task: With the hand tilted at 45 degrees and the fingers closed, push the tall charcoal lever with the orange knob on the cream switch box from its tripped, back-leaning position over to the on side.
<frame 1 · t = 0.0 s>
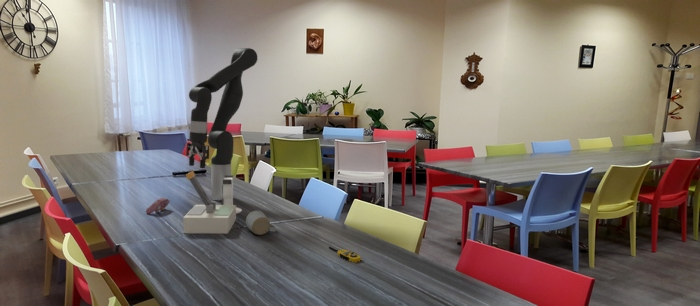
hand: (196, 166, 199), 17 cm above the table, tool pointing down, fingers open, 8 cm apart
yellow walkie-talkie: (342, 256, 145), on the table
ceramic mug: (261, 232, 165), on the table
switch box: (211, 225, 170), on the table
video game controller: (158, 212, 187), on the table
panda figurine: (228, 211, 191), on the table
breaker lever: (200, 191, 167), point 14 cm above the table, hinge at -30.0°
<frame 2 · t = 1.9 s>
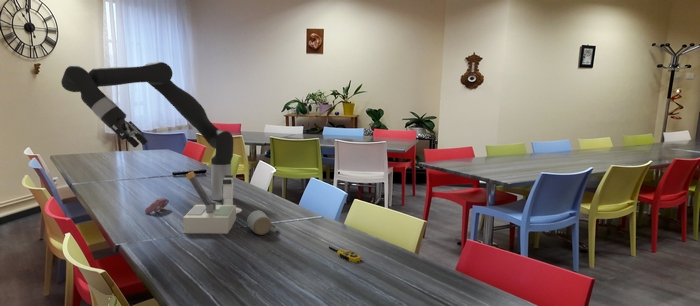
hand: (141, 144, 163), 31 cm above the table, tool tilted 45°, fingers open, 8 cm apart
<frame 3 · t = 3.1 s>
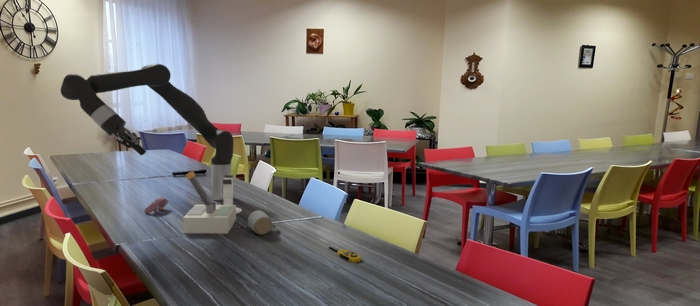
hand: (144, 153, 163), 28 cm above the table, tool tilted 45°, fingers closed
nothing on the table moved.
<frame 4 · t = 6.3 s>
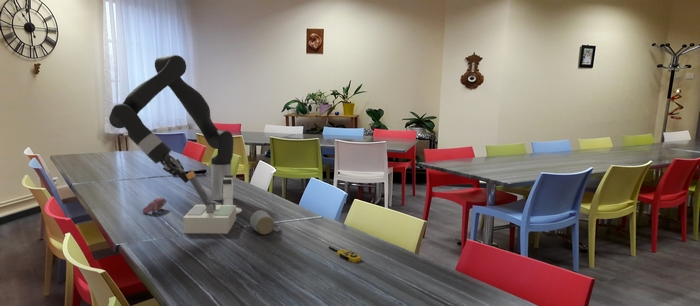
hand: (188, 180, 166), 18 cm above the table, tool tilted 45°, fingers closed
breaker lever: (200, 191, 167), point 14 cm above the table, hinge at -30.0°, touching gripper
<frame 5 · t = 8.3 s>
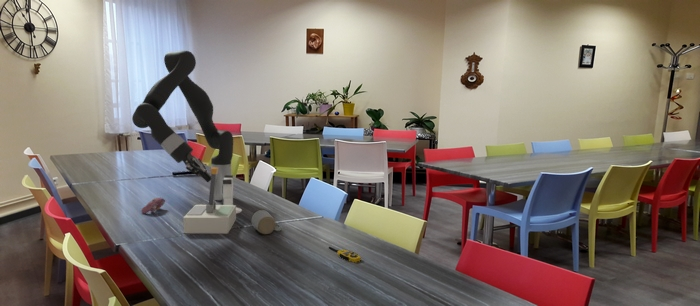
hand: (210, 180, 167), 18 cm above the table, tool tilted 45°, fingers closed
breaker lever: (212, 189, 168), point 15 cm above the table, hinge at 5.6°, touching gripper
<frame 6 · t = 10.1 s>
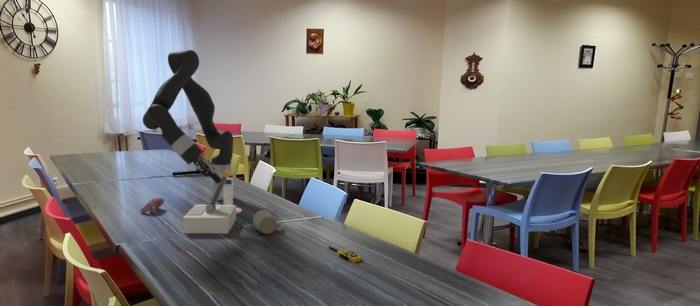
hand: (220, 181, 167), 18 cm above the table, tool tilted 45°, fingers closed
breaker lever: (218, 190, 168), point 14 cm above the table, hinge at 23.2°, touching gripper
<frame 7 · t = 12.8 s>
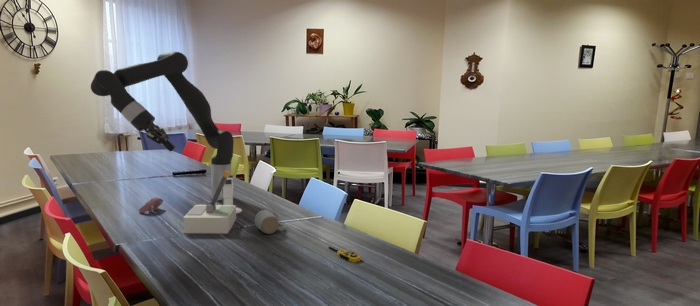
hand: (173, 149, 164), 30 cm above the table, tool tilted 45°, fingers closed
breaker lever: (218, 190, 168), point 14 cm above the table, hinge at 23.3°
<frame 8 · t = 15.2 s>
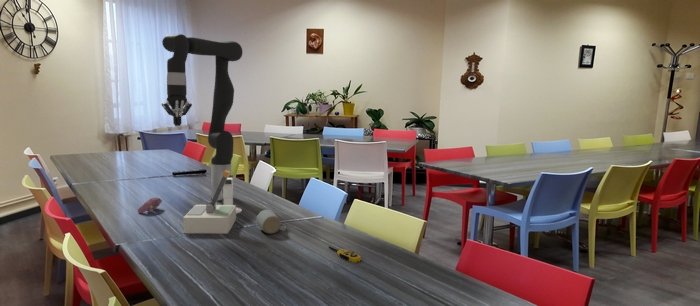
hand: (177, 125, 182), 37 cm above the table, tool pointing down, fingers closed
at the end: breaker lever at +23° (first picture: -30°); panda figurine moved 0.2 cm from its start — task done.
